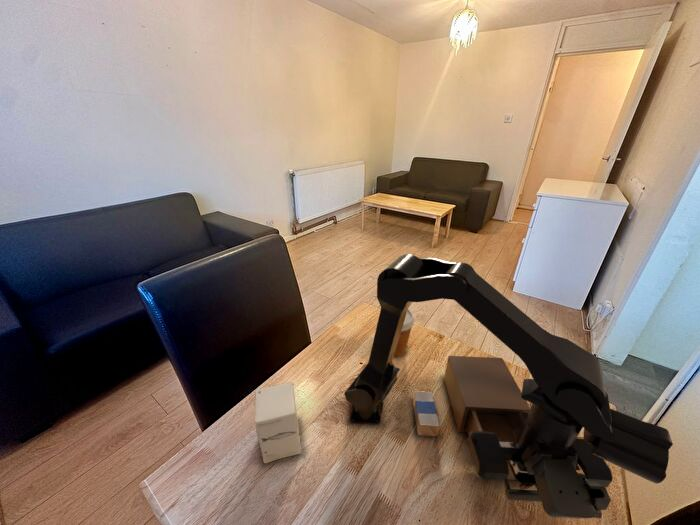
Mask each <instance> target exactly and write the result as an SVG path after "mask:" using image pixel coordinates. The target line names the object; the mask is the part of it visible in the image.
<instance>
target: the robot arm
mask: <svg viewBox="0 0 700 525" xmlns="http://www.w3.org/2000/svg"><path fill="white" fill-rule="evenodd" d="M376 298H377V301H378V303H379V306H380V311H379V314H378V315H379V316H378V320H377V324H376V328H375V333H374V336H373V340H372V345H371V349H370V353H369V357H368V362H367V363H366V365H365V366H364V367H363V368H362V370H361V371H360V372H359V374H358V375H357V376H356V377H355V378H354V380H353V381H352V383H351V384H350V385H349V387H348V388H347V389H346V390H345V391H344V393H343V394H344V397H345V400H346V401H347V402H348V403H350V405H351V406H350V419H349V420H350V423H351V424H364V425H380V424H381V415H383V411H384V402H385V400H386V398H387V397H388V395H389V393H390V392H391V391H392V389H393V388H394V385H395V384H396V382H397V381H398V373H399V372H400V370H401V368H399V367H398V366H395V364H394V363H393V362H394V360H393V359H394V357H395V356H394V353H395V350H396V347H397V343H398V340H399V337H400V333H401V330H402V327H403V324H404V320H405V317H406V314H407V310H408V309H409V308H410V306H411V305H412V303H422V302H429V301H430V302H431V301H435V300H452V301H455V302H456V303H457V304H458V305H459V306H460V307H461V308H462V309H464V310H465V311H466V312H467V313H468V314H470V315H471V316H472V317H473V318H474V319H475V320H477V322H478V323H480V324H481V325H482V326H483V327H484V328H485V329H486V330H488V331H489V332H490V333H491V334H492V335H494V336H495V338H497V339H498V340H499V341H500V342H501V343H503V344H504V345H505V346H506V347H507V348H508V349H509V350H511V351H512V352H513V353H514V354H515V355H516V356H517V357H518V358H519V359H520V360H521V361H522V363H523V364H524V365H525V366H526V369H527V371H528V372H529V374H530V375H531V378H524V379H523V380H522V387H521V392H522V394H521V397H522V399H524V400H526V401H527V402H529V403H531V406H530V411H529V413H521V414H520V419H521V421H522V423H523V427H522V429H521V430H519V429H514V431H513V435H514V437H515V439H516V442H499V441H498V438H497V436H496V434H495V433H493V432H485V431H471V432H470V434H469V436H468V435H467V436H468V437H467V440H466V442H467V445H468V448H469V452H470V455H471V457H472V461H473V465H474V469H475V468H476V471H477V475H478V476H479V477H478V478H480V479H482V480H486V481H487V480H488V481H503V479H506V478H507V477H508V475H509V470H508V464H509V466H510V469H511V471H512V474H513V476H514V478H515V479H516V483H517V486H518V488H519V489H521V490H528V489H529V488H532V487H534V486H535V485H536V484H537V487H538V490H539V493H540V497H541V500H542V502H541V506H542V508H543V510H544V512H545V513H546V514H547V515H548V516H550V517H552V518H561V519H562V518H563V519H573V520H579V519H581V520H582V519H601V518H602V515H603V513H602V511H606V510H607V509H608V507H609V506H610V504H611V501H612V499H611V497H610V495H609V492H608V490H607V488H608V487H609V486H610V485H611V483H612V482H613V480H614V475H613V470H612V469H611V468H610V466H609V464H608V463H610V464H613V465H615V466H617V467H618V468H621V469H623V470H626V471H627V472H629V473H632V474H634V475H636V476H638V477H640V478H643V479H645V480H647V481H649V482H651V483H653V484H660V483H662V482H663V481H665V479H666V478H667V472H666V471H667V469H668V466H669V461H670V460H669V459H670V449H671V448H672V447H673V440H672V437H671V435H670V432H669V430H668V429H667V428H665V427H662V426H660V425H657V424H654V423H651V422H647V421H644V420H641V419H638V418H636V417H634V416H631V415H628V414H626V413H623V412H620V411H618V410H616V409H612V408H611V405H610V401H609V400H610V399H609V394H608V392H607V390H606V388H605V382H604V376H603V368H602V365H601V362H600V361H599V359H598V358H597V357H596V356H595V355H593V354H592V353H591V352H589V351H588V350H586V349H584V348H583V347H581V346H579V345H578V344H577V343H575V342H573V341H572V340H569V339H568V338H565V337H562V336H558V335H555V334H552V333H550V332H549V331H547V330H546V329H544V328H543V327H542V326H540V325H539V324H538V323H537V322H535V321H534V319H532V318H531V317H530V316H528V315H527V314H526V313H525V312H524V311H522V310H521V309H520V308H519V307H517V305H515V304H514V303H513V302H512V301H511V300H509V299H508V298H507V297H506V296H504V295H503V294H502V293H501V292H499V291H498V290H497V289H496V288H495V287H494V286H493V285H491V284H490V283H489V282H488V281H487V280H485V279H484V278H483V277H482V276H481V275H479V274H478V273H477V272H476V270H475V269H474V267H473V266H472V265H471V264H469V263H467V262H461V261H460V262H455V261H452V262H451V261H447V260H443V259H439V258H436V257H418V256H416V255H414V254H410V253H407V254H402V255H400V256H398V257H397V258H396V259H395V260H394V261H393V262H391V263H390V264H389V265H388V266H387V267H385V268H384V269H383V270H382V271H381V272H380V273H379V275H378V276H377V281H376ZM582 429H583V436H579V434H580V433H581V432H582ZM507 461H508V463H507ZM607 462H608V463H607ZM580 470H581V471H582V472H579V471H580ZM515 479H514V480H515Z"/></svg>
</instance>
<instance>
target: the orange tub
mask: <svg viewBox="0 0 700 525" xmlns="http://www.w3.org/2000/svg"><path fill="white" fill-rule="evenodd" d="M415 322H416V318H415V317H414V313H413V312H412V311H411V310H410V309H409V308H408V310H407V314H406V317H405V320H404V324H403V327H402V330H401V333H400V337H399V340H398V343H397V347H396V350H395V353H394V357H400V356H403V355H404V354H405V353H406V350H407V346H408V342H409V339H410V335H411V331H412V328H413V326H414V325H415Z"/></svg>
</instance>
